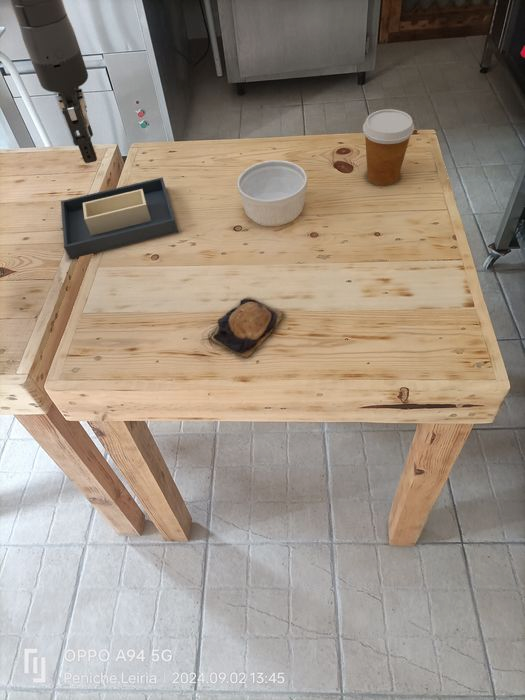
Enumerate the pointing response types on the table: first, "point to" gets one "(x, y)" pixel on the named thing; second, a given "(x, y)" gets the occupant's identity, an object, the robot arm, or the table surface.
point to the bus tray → (85, 244)
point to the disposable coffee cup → (386, 144)
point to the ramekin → (273, 192)
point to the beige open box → (116, 212)
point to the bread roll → (246, 327)
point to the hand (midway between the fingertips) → (89, 148)
